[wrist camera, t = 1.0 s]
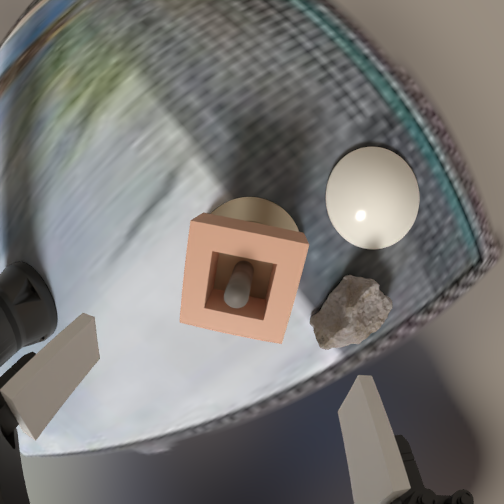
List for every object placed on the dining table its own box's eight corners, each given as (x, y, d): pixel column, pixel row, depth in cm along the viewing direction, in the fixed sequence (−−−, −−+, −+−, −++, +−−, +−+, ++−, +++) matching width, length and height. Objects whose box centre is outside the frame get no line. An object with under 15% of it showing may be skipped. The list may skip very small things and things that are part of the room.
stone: (392, 300, 33) (409, 322, 28) (336, 345, 36) (344, 373, 30) (358, 259, 32) (373, 278, 26) (298, 310, 35) (302, 337, 29)
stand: (193, 284, 34) (156, 342, 22) (207, 188, 31) (166, 200, 18) (288, 303, 34) (294, 372, 22) (312, 209, 31) (338, 234, 18)
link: (191, 302, 27) (179, 322, 23) (203, 212, 24) (190, 220, 21) (280, 320, 27) (281, 343, 23) (303, 232, 24) (309, 244, 20)
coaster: (314, 236, 32) (315, 237, 31) (336, 134, 28) (338, 133, 28) (402, 256, 31) (404, 258, 31) (425, 164, 28) (427, 164, 27)
